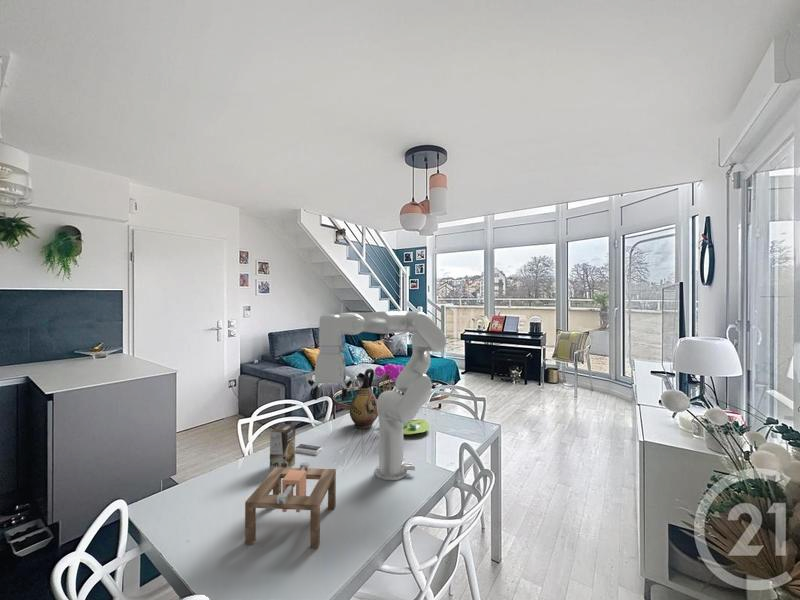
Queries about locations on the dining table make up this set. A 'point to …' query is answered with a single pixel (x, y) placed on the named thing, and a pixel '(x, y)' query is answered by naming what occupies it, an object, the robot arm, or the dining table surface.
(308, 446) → the multiport hub
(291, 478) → the slotted peach block
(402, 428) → the robot arm
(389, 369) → the flower ornament
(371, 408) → the ceramic jug
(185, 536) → the dining table surface
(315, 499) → the open wooden frame
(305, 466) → the metal guide rod
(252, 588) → the dining table surface
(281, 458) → the coffee box
